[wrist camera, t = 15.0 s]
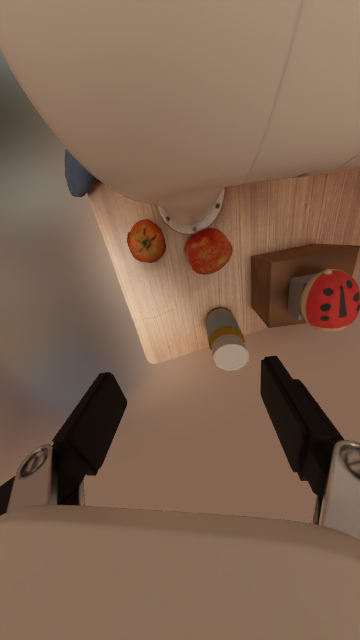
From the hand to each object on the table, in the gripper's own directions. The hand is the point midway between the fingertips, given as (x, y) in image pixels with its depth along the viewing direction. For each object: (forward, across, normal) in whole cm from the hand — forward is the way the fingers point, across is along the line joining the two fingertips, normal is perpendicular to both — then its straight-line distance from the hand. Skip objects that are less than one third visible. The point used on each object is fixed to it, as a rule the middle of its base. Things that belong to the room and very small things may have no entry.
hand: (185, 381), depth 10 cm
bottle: (+31, -5, +12) cm, 33 cm away
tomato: (+31, +8, -9) cm, 33 cm away
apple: (+31, -4, -5) cm, 31 cm away
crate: (+30, -19, +4) cm, 36 cm away
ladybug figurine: (+17, -19, +4) cm, 26 cm away
